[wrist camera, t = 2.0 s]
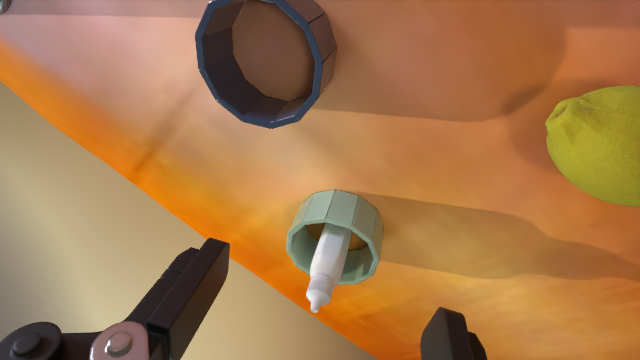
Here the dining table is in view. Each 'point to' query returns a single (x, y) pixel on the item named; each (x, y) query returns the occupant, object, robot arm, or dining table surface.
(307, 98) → the slate cup
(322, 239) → the eye dropper bottle
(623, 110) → the lemon
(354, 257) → the celadon cup
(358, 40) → the dining table surface
